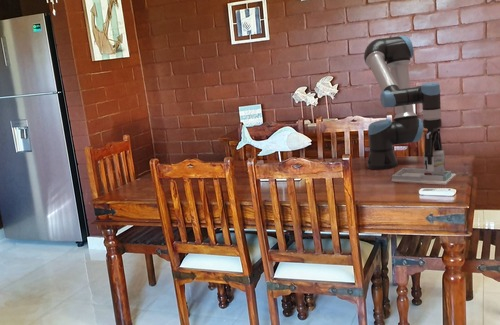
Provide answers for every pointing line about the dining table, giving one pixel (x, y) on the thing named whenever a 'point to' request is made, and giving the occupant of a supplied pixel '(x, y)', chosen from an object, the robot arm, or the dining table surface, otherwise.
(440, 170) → the ink box
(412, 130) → the robot arm
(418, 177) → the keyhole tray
